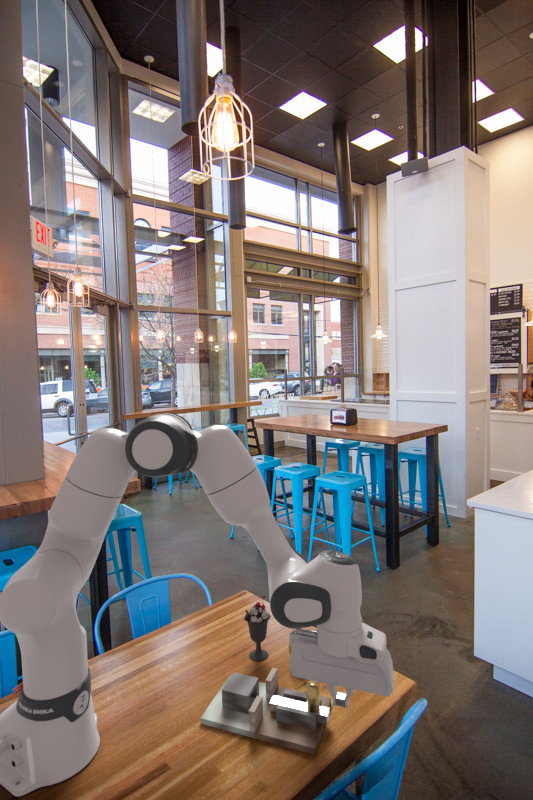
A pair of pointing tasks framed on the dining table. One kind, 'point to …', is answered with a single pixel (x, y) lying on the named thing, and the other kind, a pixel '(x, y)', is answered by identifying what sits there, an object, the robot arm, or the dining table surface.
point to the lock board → (264, 713)
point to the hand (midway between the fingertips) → (341, 704)
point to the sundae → (258, 629)
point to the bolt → (310, 706)
